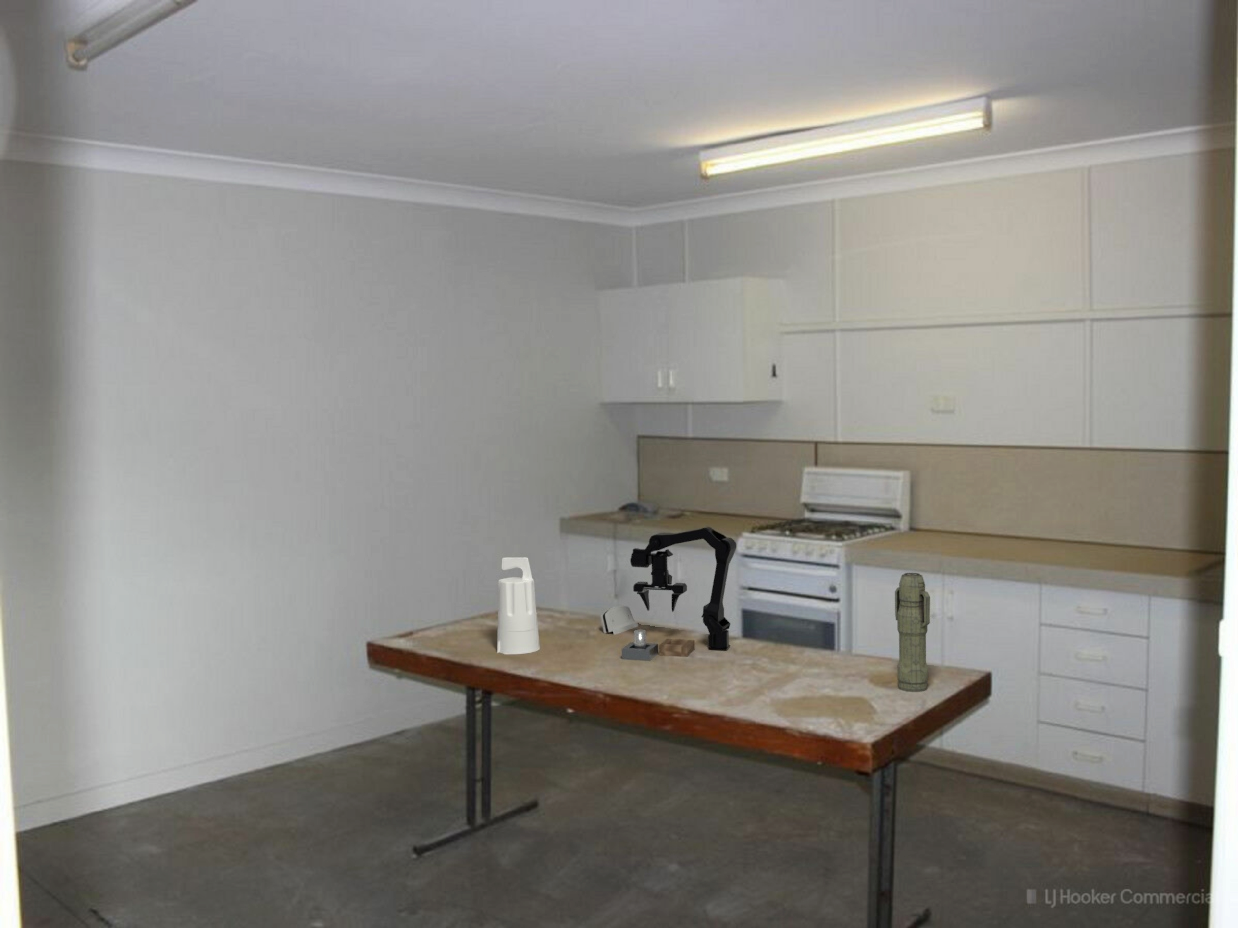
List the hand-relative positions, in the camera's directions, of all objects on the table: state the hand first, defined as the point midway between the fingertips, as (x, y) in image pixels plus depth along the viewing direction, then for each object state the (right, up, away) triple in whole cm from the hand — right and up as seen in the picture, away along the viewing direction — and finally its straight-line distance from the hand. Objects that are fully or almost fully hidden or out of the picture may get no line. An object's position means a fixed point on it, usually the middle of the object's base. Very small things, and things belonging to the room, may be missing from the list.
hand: (660, 610), depth 404 cm
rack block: (-8, -14, -16) cm, 23 cm away
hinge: (-15, -11, +26) cm, 32 cm away
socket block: (+5, -13, -12) cm, 19 cm away
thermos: (+74, -15, -63) cm, 99 cm away
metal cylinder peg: (-8, -14, -16) cm, 23 cm away
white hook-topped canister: (-51, -14, -2) cm, 53 cm away
